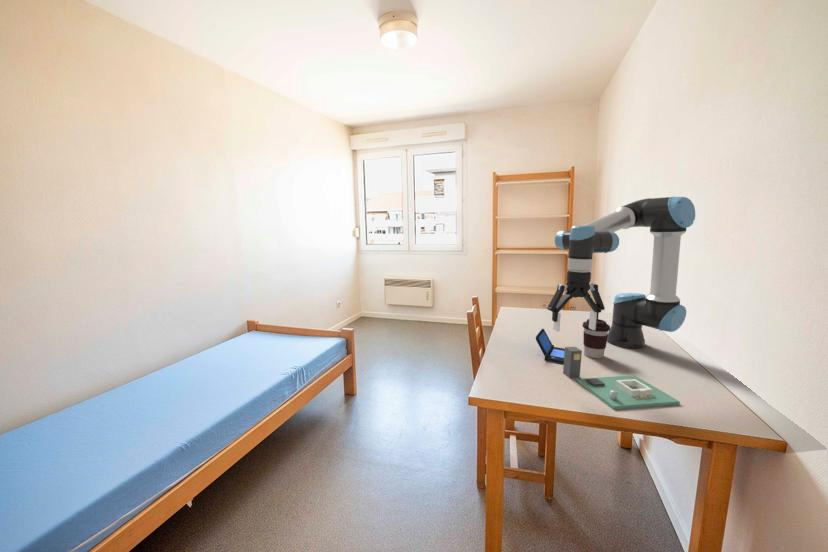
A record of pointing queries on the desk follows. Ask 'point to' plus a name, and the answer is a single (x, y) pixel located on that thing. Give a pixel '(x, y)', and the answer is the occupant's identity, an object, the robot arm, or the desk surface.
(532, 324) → the desk surface
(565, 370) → the plug
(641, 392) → the header
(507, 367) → the desk surface
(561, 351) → the handheld game console
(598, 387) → the board
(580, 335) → the desk surface
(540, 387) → the desk surface
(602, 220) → the robot arm
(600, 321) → the coffee cup
